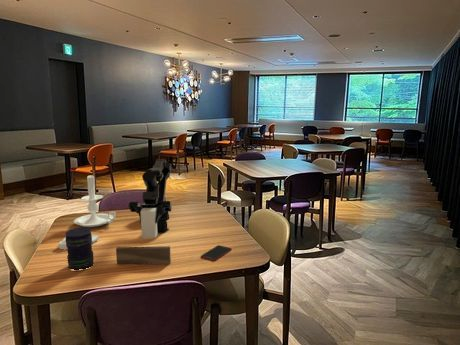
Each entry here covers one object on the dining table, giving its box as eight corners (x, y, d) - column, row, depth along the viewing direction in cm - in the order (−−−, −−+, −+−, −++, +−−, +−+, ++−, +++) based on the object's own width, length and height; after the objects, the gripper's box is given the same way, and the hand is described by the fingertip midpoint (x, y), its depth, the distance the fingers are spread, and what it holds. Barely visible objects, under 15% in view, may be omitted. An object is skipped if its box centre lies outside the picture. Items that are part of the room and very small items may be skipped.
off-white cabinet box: (144, 234, 164) (142, 208, 161) (157, 234, 164) (156, 207, 162) (142, 238, 159) (140, 211, 156) (155, 238, 159) (154, 211, 157)
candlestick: (104, 233, 184) (100, 180, 179) (65, 228, 192) (60, 177, 186) (127, 221, 203) (124, 173, 198) (91, 217, 211) (87, 170, 206)
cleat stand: (124, 253, 159) (123, 239, 158) (173, 253, 160) (172, 238, 158) (117, 264, 148) (115, 249, 147) (170, 263, 149) (169, 248, 147)
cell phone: (199, 258, 155) (199, 256, 155) (218, 246, 167) (218, 244, 167) (214, 262, 151) (214, 260, 151) (232, 250, 163) (232, 248, 163)
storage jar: (68, 273, 141) (64, 237, 138) (68, 263, 150) (65, 229, 147) (94, 268, 145) (91, 233, 142) (93, 259, 154) (90, 226, 151)
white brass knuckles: (77, 253, 161) (51, 249, 166) (103, 239, 178) (79, 235, 182) (76, 246, 160) (51, 242, 165) (102, 232, 177) (78, 229, 182)
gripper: (128, 184, 161) (123, 215, 152) (169, 183, 161) (167, 214, 152) (133, 196, 170) (129, 226, 161) (172, 196, 170) (170, 225, 162)
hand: (148, 223), depth 159 cm, fingers closed on off-white cabinet box, 6 cm apart
